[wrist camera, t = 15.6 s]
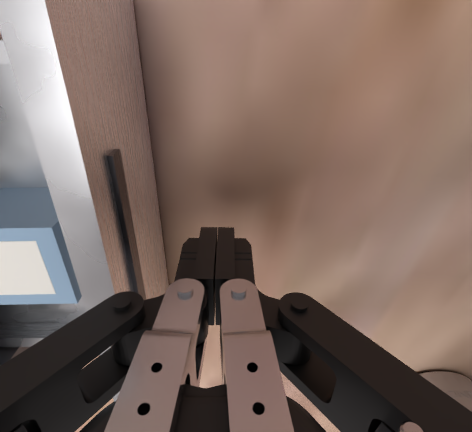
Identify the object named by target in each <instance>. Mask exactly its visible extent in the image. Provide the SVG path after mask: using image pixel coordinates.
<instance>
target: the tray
mask: <svg viewBox="0 0 472 432" xmlns="http://www.w3.org/2000/svg"><path fill="white" fill-rule="evenodd" d="M0 32H1V35H2V38H3V40H0V188H35V187H48V188H49V191H50V194H51V198H52V201H53V204H54V207H55V211H56V214H57V217H58V220H59V224H60V227H61V230H62V233H63V237H64V240H65V243H66V246H67V250H68V253H69V256H70V259H71V263H72V266H73V269H74V272H75V276H76V279H77V282H78V285H79V289H80V292H81V295H82V297H81V299H80V300H79V302H78V304H15V305H0V347H31V346H33V345H34V344H36V343H37V342H39V341H41V340H42V339H44V338H45V337H47V336H49V335H50V334H52V333H53V332H55V331H56V330H58V329H60V328H61V327H63V326H64V325H66V324H68V323H69V322H71V321H72V320H74V319H76V318H77V317H79V316H80V315H82V314H84V313H85V312H87V311H88V310H90V309H91V308H93V307H95V306H96V305H98V304H99V303H101V302H103V301H104V300H106V299H107V298H109V297H111V296H112V295H114V294H117V293H120V292H125V291H132V292H136V293H138V294H140V295H141V296H142V298H143V300H146V299H151V298H155V297H158V296H161V295H163V294H165V292H166V290H167V288H168V286H169V284H168V276H167V268H166V261H165V253H164V245H163V237H162V229H161V221H160V213H159V205H158V197H157V189H156V181H155V173H154V165H153V157H152V149H151V141H150V133H149V125H148V117H147V109H146V101H145V93H144V85H143V78H142V70H141V62H140V54H139V46H138V38H137V30H136V22H135V14H134V6H133V0H0ZM109 348H111V346H110V347H109ZM109 348H108V349H109ZM108 349H106V350H105V351H107V350H108ZM105 351H104V352H105ZM104 352H102V353H101V354H100V355H102V354H103V353H104ZM119 393H120V392H118V393H117V394H116V395H115V396H114V397H113V399H114V402H115V401H116V400H117V398H118V395H119Z"/></svg>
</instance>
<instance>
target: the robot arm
mask: <svg viewBox="0 0 472 432" xmlns="http://www.w3.org/2000/svg"><path fill="white" fill-rule="evenodd" d="M215 308H216V325H220V351H221V369H222V385H219V386H215V387H211V388H200V387H199V383H200V377H201V372H202V366H203V360H204V354H205V348H206V337H207V334H208V325H214V317H215ZM110 346H111V348H109V347H110ZM108 348H109V349H108ZM106 349H108V350H107V351H105V350H106ZM104 351H105V352H104ZM102 352H104V353H103V354H102V355H100V354H101V353H102ZM98 355H100V356H99V357H98V358H96V357H97V356H98ZM94 358H96V359H95V360H94V361H92V360H93V359H94ZM91 361H92V362H91ZM89 362H91V363H90V364H88V363H89ZM87 364H88V365H87ZM85 365H87V366H86V367H84V366H85ZM83 367H84V368H83ZM82 368H83V369H82ZM81 369H82V370H81ZM280 371H281V372H282V373H283V374H284V375H285V376H286V377H287V378H288V379H289V380H290V381H291V382H292V383H293V384H294V385H295V386H296V387H297V388H298V389H299V390H300V391H301V392H302V393H303V394H304V395H305V396H306V397H307V398H308V399H309V400H310V401H311V402H312V403H313V404H314V405H315V406H316V407H317V408H318V409H319V410H320V411H321V412H322V413H323V414H324V415H325V416H326V417H327V418H328V419H329V420H330V421H331V422H332V423H333V424H334V425H335V426H336V427H337V428H338V429H339V430H340V431H341V432H472V381H471V380H470V379H469V378H468V377H465V376H463V375H461V374H458V373H453V372H444V371H436V372H426V373H421V374H418V373H417V372H415V371H414V370H412V369H411V368H410V367H408V366H407V365H405V364H404V363H403V362H401V361H400V360H398V359H397V358H396V357H394V356H393V355H391V354H390V353H389V352H387V351H386V350H384V349H383V348H382V347H380V346H379V345H377V344H376V343H375V342H373V341H372V340H370V339H369V338H368V337H366V336H365V335H363V334H362V333H361V332H359V331H358V330H356V329H355V328H354V327H352V326H351V325H349V324H348V323H347V322H345V321H344V320H342V319H341V318H340V317H338V316H337V315H335V314H334V313H333V312H331V311H330V310H328V309H327V308H326V307H324V306H323V305H321V304H320V303H319V302H317V301H316V300H314V299H313V298H311V297H310V296H308V295H306V294H303V293H289V294H286V295H284V296H283V297H282V298H281V299H280V300H278V299H275V298H271V297H268V296H266V295H264V294H262V293H261V292H260V291H259V290H258V289H257V287H256V285H255V280H254V270H253V260H252V250H251V245H250V243H249V242H248V241H247V240H246V239H244V238H234V228H225V227H218V241H217V227H201V231H200V237H199V238H189V239H188V240H187V241H186V242H185V243H184V244H183V247H182V251H181V255H180V260H179V264H178V268H177V272H176V277H175V281H174V282H173V283H171V284H170V285H169V286H168V288H167V290H166V292H165V294H163V295H161V296H158V297H155V298H151V299H146V300H143V298H142V296H141V295H140V294H138V293H136V292H132V291H125V292H120V293H117V294H114V295H112V296H111V297H109V298H107V299H106V300H104V301H103V302H101V303H99V304H98V305H96V306H95V307H93V308H91V309H90V310H88V311H87V312H85V313H84V314H82V315H80V316H79V317H77V318H76V319H74V320H72V321H71V322H69V323H68V324H66V325H64V326H63V327H61V328H60V329H58V330H56V331H55V332H53V333H52V334H50V335H49V336H47V337H45V338H44V339H42V340H41V341H39V342H37V343H36V344H34V345H33V346H31V347H29V348H28V349H26V350H25V351H23V352H22V353H20V354H18V355H17V356H15V357H14V358H12V359H10V360H9V361H7V362H6V363H4V364H2V365H1V366H0V432H75V431H76V430H77V429H78V428H79V427H80V426H81V425H83V424H84V423H85V422H86V421H87V420H88V419H89V418H90V417H92V416H93V415H94V414H95V413H96V412H97V411H98V410H99V409H101V408H102V407H103V406H104V405H105V404H106V403H107V402H108V401H110V400H111V399H112V398H113V397H114V396H115V395H116V394H117V393H118V392H120V393H119V395H118V398H117V400H116V401H115V402H113V403H111V404H110V405H108V406H107V407H106V408H105V409H103V410H102V411H101V412H100V413H99V414H97V415H96V416H95V417H94V418H93V419H92V420H91V421H90V422H89V423H88V424H87V425H86V426H85V427H84V428H83V429H82V430H81V431H79V432H326V431H325V430H324V429H323V428H322V427H321V425H320V424H319V423H318V422H317V421H316V420H315V419H314V418H313V417H312V416H311V415H310V413H309V412H308V411H307V410H305V409H304V408H303V407H302V406H301V405H300V404H298V403H297V402H295V401H294V400H292V399H291V398H289V397H287V396H286V394H285V390H284V386H283V381H282V377H281V373H280Z"/></svg>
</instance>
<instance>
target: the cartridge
mask: <svg viewBox="0 0 472 432" xmlns="http://www.w3.org/2000/svg"><path fill="white" fill-rule="evenodd" d="M81 297H82V295H81V292H80V289H79V285H78V282H77V279H76V276H75V272H74V269H73V266H72V263H71V259H70V256H69V253H68V250H67V246H66V243H65V240H64V237H63V233H62V230H61V227H60V224H59V220H58V217H57V214H56V211H55V207H54V204H53V201H52V198H51V194H50V191H49V188H48V187H35V188H0V305H15V304H78V302H79V300H80V299H81Z"/></svg>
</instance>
